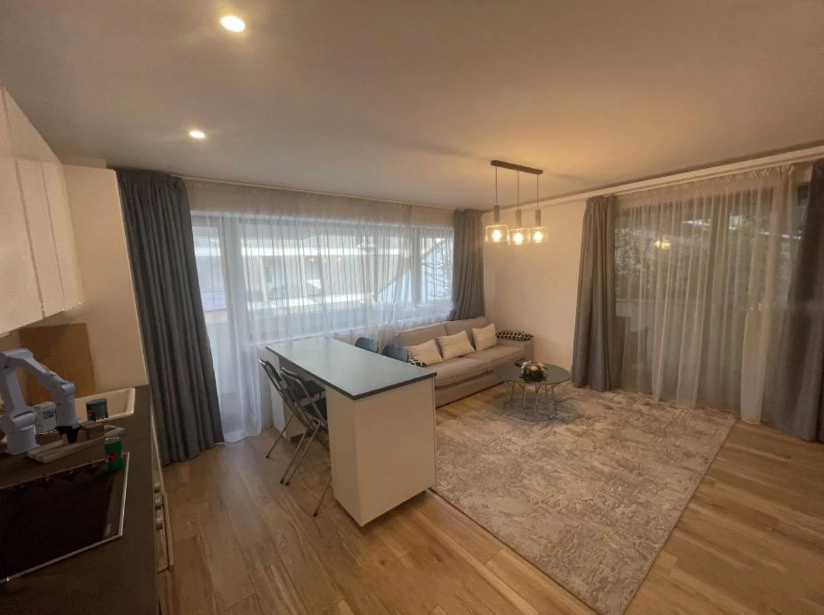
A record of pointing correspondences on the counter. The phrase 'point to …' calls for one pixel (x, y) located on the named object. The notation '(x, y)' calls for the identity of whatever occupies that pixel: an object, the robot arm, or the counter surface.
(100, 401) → the canned tomato
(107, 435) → the pit track
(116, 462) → the soda can
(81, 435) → the bar
